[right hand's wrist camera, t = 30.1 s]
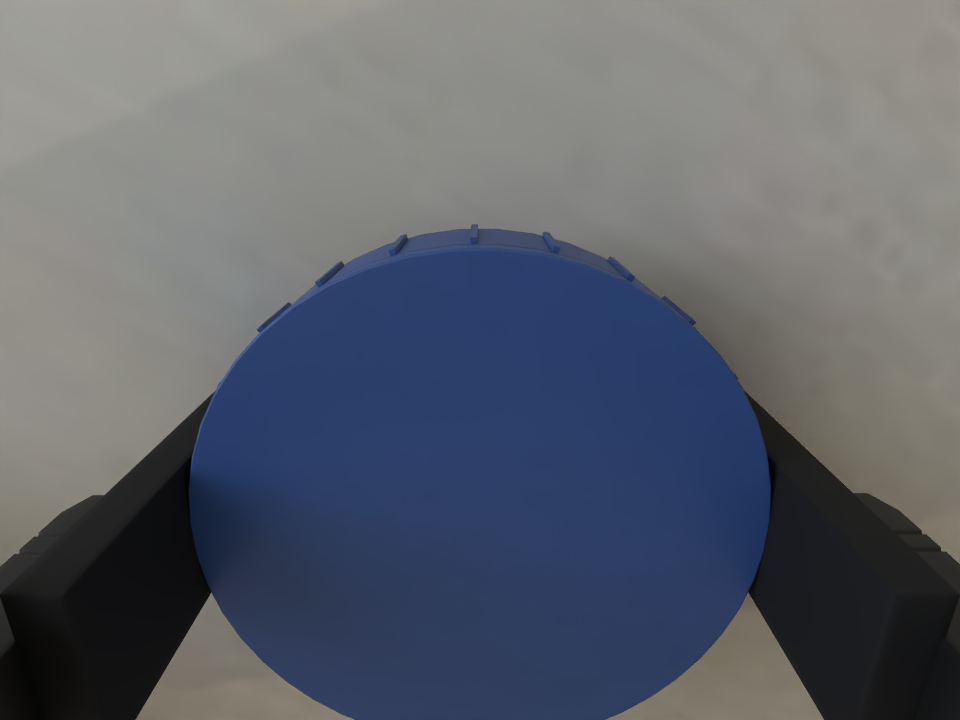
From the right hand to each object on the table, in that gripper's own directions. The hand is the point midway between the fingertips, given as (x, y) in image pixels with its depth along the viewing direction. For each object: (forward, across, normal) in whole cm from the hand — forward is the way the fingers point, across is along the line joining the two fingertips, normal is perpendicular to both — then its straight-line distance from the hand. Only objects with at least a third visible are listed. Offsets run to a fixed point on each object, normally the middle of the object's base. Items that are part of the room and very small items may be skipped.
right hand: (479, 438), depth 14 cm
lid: (-3, 0, 0) cm, 3 cm away
